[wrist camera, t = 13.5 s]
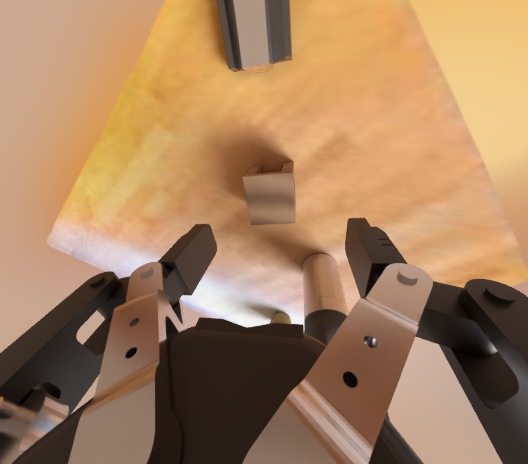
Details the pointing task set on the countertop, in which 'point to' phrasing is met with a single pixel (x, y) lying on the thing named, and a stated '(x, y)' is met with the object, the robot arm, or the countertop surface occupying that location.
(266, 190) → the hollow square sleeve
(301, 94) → the countertop surface
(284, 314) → the squeeze bottle
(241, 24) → the shiny metal block
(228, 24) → the grey channel block
